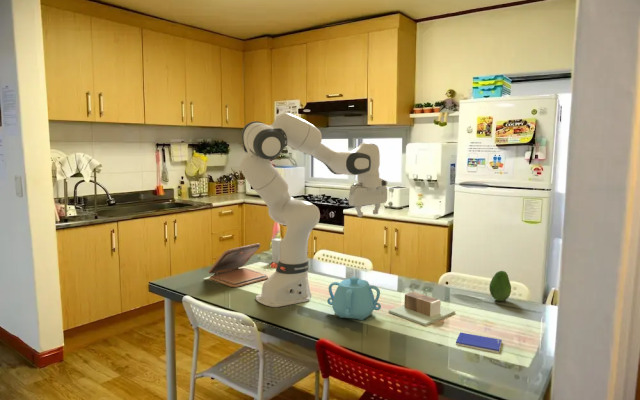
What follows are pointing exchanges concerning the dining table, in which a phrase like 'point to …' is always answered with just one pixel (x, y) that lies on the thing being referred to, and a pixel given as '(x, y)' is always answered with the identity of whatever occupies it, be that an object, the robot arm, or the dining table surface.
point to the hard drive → (479, 342)
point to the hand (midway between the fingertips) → (367, 215)
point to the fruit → (500, 286)
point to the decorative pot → (353, 298)
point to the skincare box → (276, 250)
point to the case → (236, 267)
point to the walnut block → (422, 304)
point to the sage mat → (420, 315)
